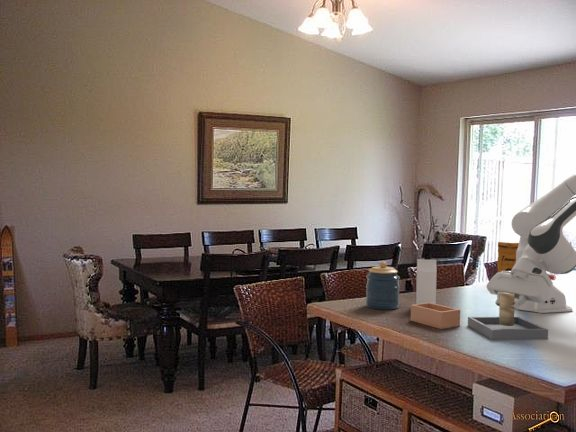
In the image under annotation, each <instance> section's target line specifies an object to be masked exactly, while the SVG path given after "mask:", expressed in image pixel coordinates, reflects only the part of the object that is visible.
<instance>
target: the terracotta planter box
mask: <svg viewBox="0 0 576 432" xmlns="http://www.w3.org/2000/svg"><path fill="white" fill-rule="evenodd" d="M410 321H411V322H413V323H414V322H415V323H419V324H422V325H426V326H429V327H433V328H436V329H439V330H440V329H441V330H443V329H450V328H455V327H460V326H461V309H459V308H455V307H450V306H447V305H442V304H438V303H436V304H434V303H421V304H416V303H415V304H410Z"/></svg>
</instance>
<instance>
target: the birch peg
mask: <svg viewBox="0 0 576 432" xmlns="http://www.w3.org/2000/svg"><path fill="white" fill-rule="evenodd" d="M513 302H515V294H514V293H508V292H501V293H500V305H499V306H498V307H499V308H498V310H499V311H498V312H499V313H498V317H499V324H500V325H504V326H513V325H514V317H515V309H512V307H511V305H512V303H513Z"/></svg>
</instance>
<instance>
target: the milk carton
mask: <svg viewBox="0 0 576 432" xmlns="http://www.w3.org/2000/svg"><path fill="white" fill-rule="evenodd" d="M416 261H417V262H416V288H415V289H416V292H415V295H416V296H415V304H421V303H434V304H437V274H438V273H437V270H438V269H437V259H420V258H419V259H418V258H417V259H416Z"/></svg>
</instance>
